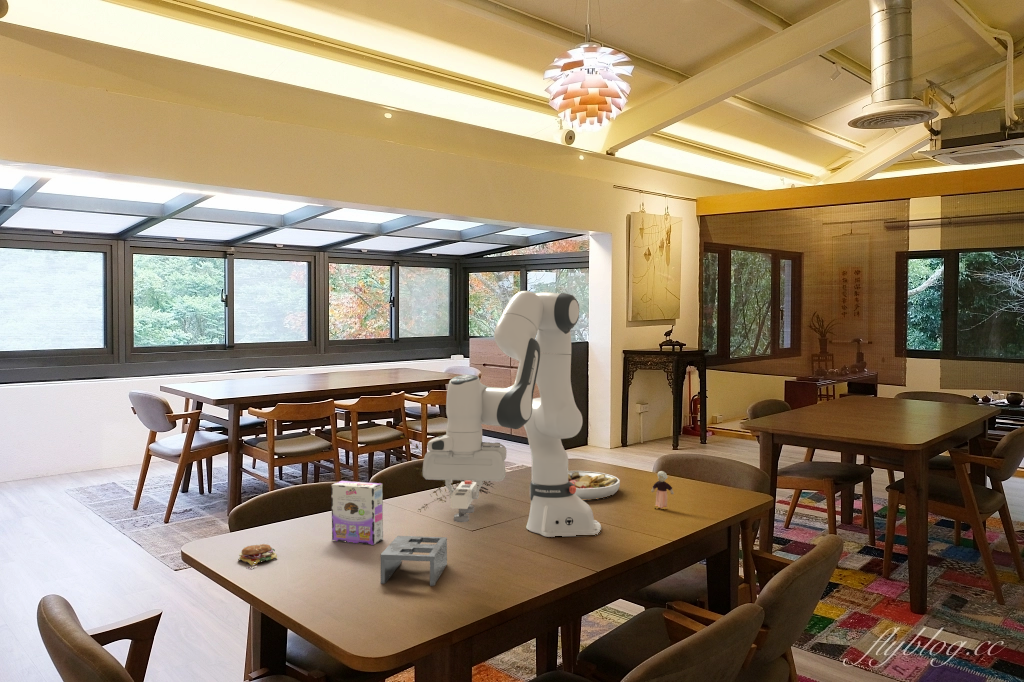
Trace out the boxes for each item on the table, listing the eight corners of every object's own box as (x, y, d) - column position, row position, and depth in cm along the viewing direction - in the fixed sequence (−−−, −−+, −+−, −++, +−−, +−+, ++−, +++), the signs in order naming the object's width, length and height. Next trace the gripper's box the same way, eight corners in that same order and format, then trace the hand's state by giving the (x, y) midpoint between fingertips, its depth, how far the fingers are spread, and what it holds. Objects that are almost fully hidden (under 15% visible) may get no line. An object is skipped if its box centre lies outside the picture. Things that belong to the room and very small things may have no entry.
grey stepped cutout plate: (446, 564, 182) (446, 537, 182) (434, 585, 167) (434, 556, 167) (397, 562, 184) (397, 535, 184) (380, 583, 169) (380, 554, 169)
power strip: (477, 507, 181) (477, 479, 181) (467, 524, 166) (467, 493, 166) (461, 507, 181) (461, 479, 181) (450, 523, 166) (450, 493, 166)
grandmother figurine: (649, 509, 236) (649, 471, 236) (651, 506, 239) (651, 469, 239) (672, 511, 233) (673, 473, 233) (674, 508, 237) (675, 470, 236)
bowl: (565, 480, 281) (565, 460, 281) (633, 490, 264) (633, 469, 263) (521, 495, 257) (521, 473, 257) (594, 507, 239) (594, 484, 239)
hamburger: (217, 565, 184) (216, 542, 183) (265, 551, 195) (265, 529, 194) (247, 576, 175) (246, 552, 175) (295, 561, 186) (295, 538, 186)
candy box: (384, 539, 203) (383, 482, 203) (373, 546, 198) (373, 487, 197) (342, 535, 208) (341, 479, 207) (330, 541, 202) (330, 483, 202)
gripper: (507, 440, 175) (507, 496, 176) (426, 439, 177) (426, 493, 178) (505, 444, 169) (504, 502, 169) (420, 443, 171) (421, 500, 171)
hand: (464, 498), depth 174 cm, fingers closed on power strip, 4 cm apart
